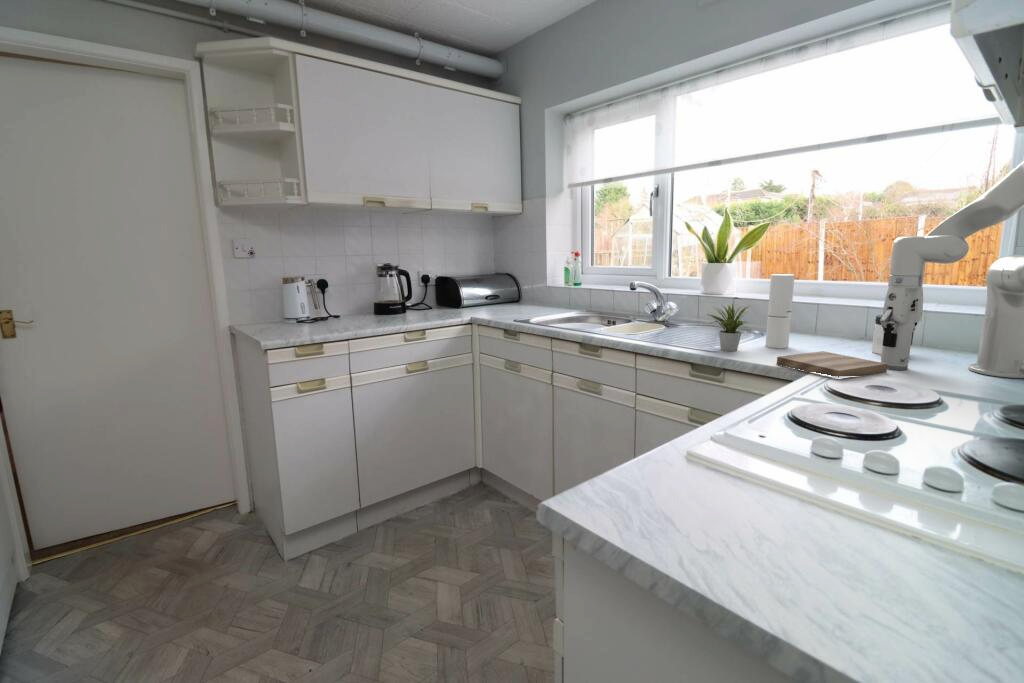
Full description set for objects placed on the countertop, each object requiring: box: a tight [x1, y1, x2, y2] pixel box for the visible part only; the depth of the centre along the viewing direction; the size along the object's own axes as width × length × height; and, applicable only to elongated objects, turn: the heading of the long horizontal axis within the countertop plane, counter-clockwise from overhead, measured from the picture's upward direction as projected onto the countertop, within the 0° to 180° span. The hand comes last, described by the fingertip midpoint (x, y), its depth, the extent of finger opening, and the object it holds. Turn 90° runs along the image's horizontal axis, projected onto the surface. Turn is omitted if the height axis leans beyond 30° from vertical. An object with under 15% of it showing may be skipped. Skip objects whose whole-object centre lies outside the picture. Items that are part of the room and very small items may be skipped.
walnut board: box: [776, 350, 888, 377], centre depth 143 cm, size 19×19×2 cm
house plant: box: [706, 303, 752, 352], centre depth 170 cm, size 14×14×16 cm
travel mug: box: [880, 299, 918, 371], centre depth 141 cm, size 6×7×20 cm
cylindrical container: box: [764, 273, 796, 349], centre depth 173 cm, size 7×7×25 cm
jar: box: [871, 314, 884, 355], centre depth 161 cm, size 9×8×12 cm
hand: (897, 345), depth 142 cm, fingers closed on travel mug, 6 cm apart
